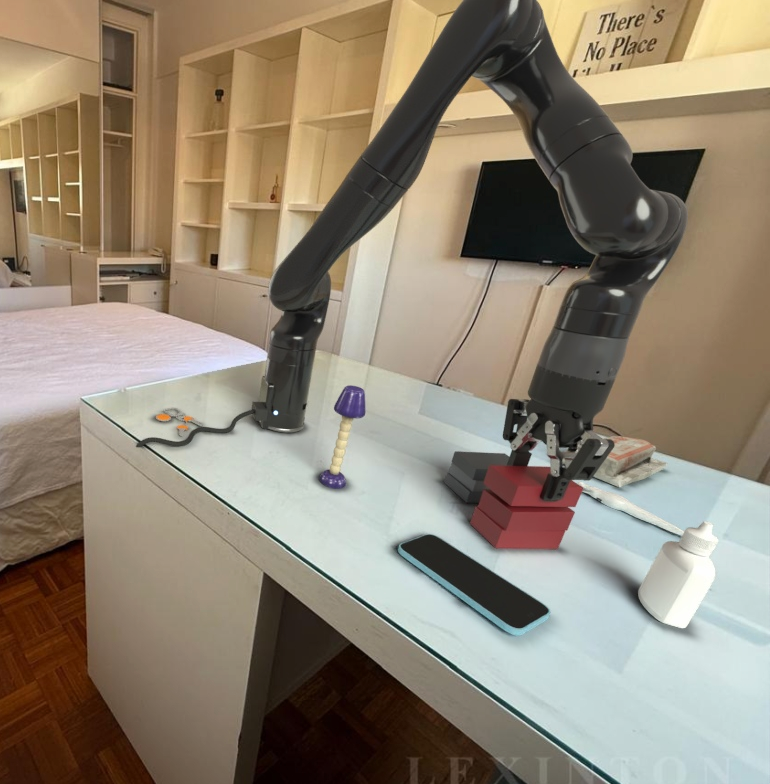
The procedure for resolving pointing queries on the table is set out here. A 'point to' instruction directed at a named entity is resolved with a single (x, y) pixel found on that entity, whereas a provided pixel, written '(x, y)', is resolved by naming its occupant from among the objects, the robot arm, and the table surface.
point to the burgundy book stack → (520, 523)
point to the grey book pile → (471, 473)
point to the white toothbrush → (628, 507)
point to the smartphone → (475, 584)
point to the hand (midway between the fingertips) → (530, 486)
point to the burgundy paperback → (527, 486)
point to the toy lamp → (344, 432)
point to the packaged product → (628, 462)
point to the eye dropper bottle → (680, 577)
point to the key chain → (182, 427)
